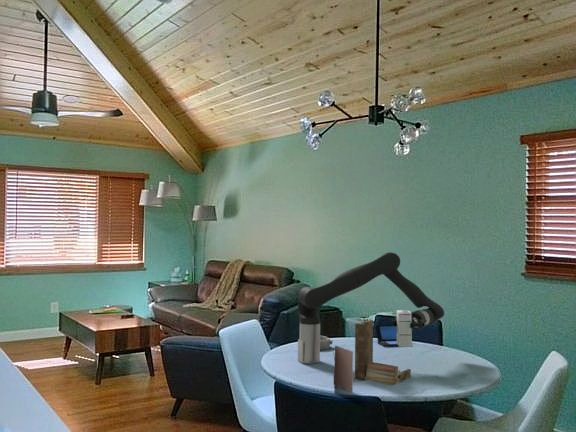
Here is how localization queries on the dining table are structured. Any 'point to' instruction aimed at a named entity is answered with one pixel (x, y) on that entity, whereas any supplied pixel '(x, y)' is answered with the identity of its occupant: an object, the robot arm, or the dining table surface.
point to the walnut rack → (367, 351)
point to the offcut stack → (382, 373)
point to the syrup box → (404, 328)
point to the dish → (325, 342)
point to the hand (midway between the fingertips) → (402, 324)
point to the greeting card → (343, 368)
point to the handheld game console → (387, 335)
